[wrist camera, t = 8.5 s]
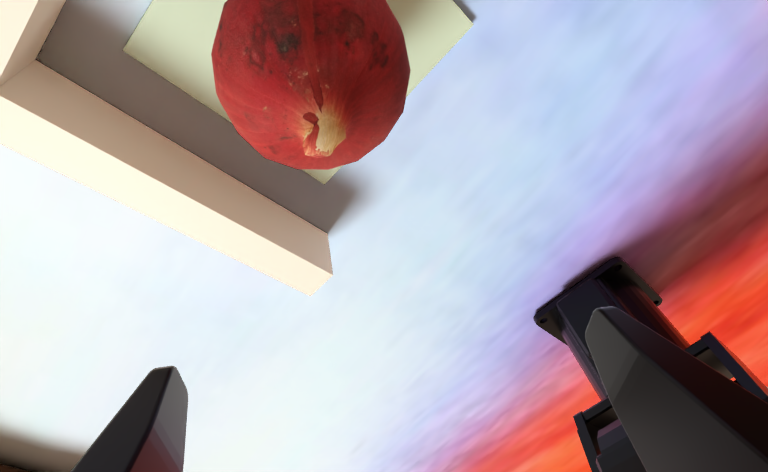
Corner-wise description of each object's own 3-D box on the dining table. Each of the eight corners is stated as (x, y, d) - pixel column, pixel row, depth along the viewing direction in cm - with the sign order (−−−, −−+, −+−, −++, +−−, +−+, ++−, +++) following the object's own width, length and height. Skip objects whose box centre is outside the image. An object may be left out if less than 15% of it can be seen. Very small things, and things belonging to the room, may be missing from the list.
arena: (579, -21, 17) (625, -4, 15) (307, 254, 23) (310, 296, 21) (240, -549, 10) (226, -680, 7) (-37, 64, 16) (-92, 98, 13)
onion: (192, -27, 15) (132, 46, 9) (361, -81, 15) (420, -46, 9) (264, 130, 19) (258, 259, 12) (400, 88, 19) (460, 196, 12)
